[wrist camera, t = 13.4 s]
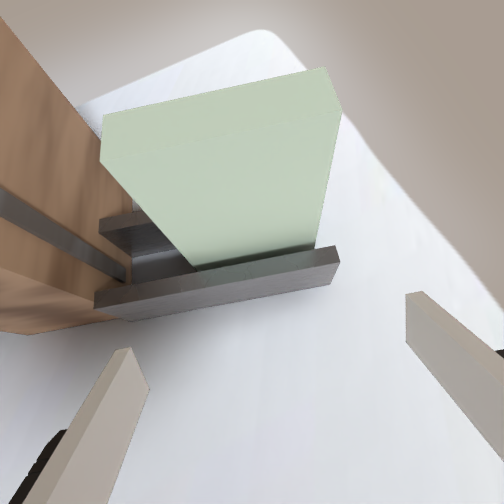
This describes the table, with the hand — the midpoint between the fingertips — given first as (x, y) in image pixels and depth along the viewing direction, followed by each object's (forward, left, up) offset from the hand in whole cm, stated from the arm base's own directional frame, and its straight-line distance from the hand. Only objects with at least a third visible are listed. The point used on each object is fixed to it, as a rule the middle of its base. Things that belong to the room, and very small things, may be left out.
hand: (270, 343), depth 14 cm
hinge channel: (-7, +5, -8) cm, 12 cm away
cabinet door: (-5, +6, -8) cm, 12 cm away
